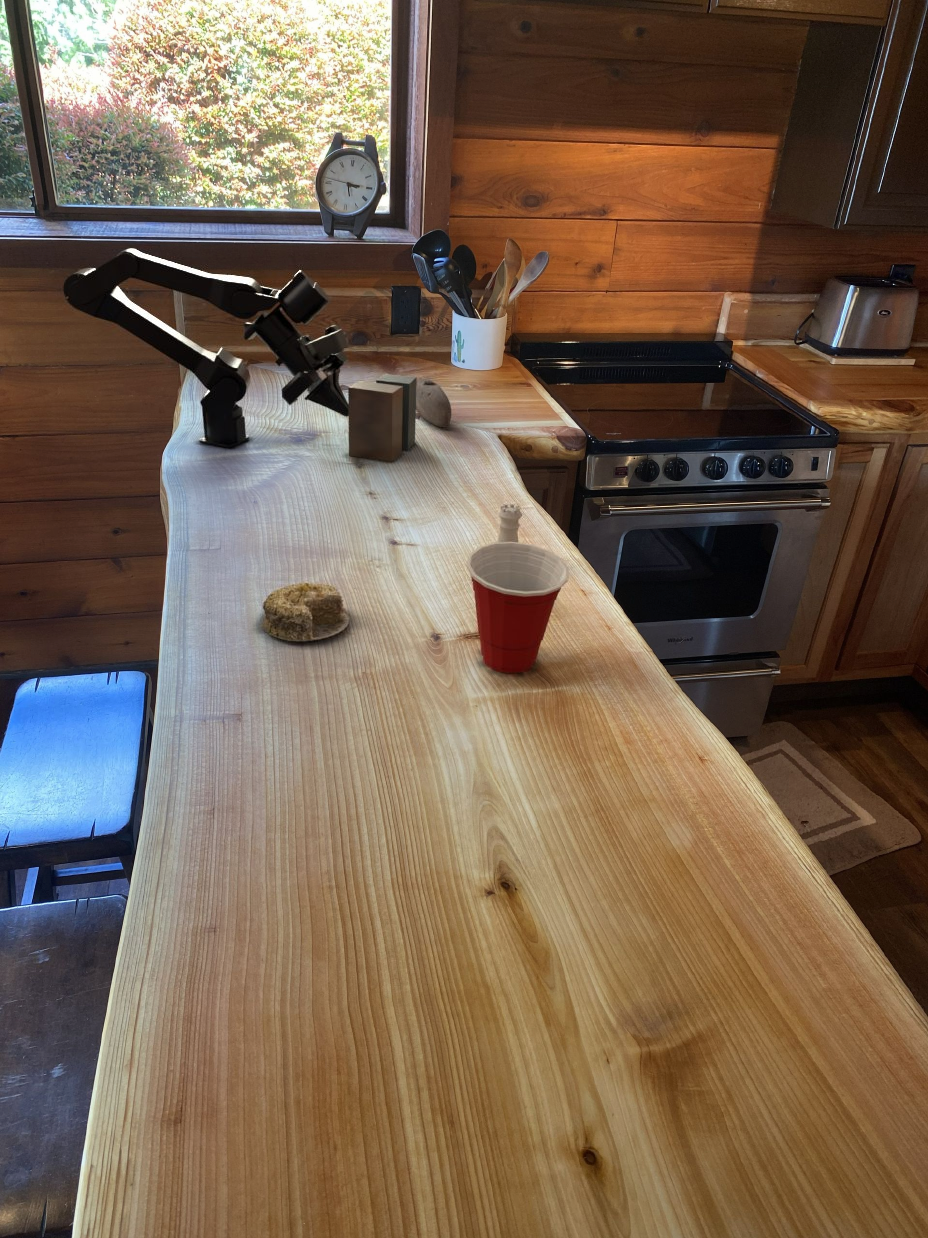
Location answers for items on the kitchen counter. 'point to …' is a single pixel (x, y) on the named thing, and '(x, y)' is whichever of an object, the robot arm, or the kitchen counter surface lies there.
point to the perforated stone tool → (432, 403)
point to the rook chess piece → (509, 523)
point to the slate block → (405, 405)
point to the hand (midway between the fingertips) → (349, 414)
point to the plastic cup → (514, 600)
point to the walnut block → (375, 420)
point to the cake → (304, 612)
